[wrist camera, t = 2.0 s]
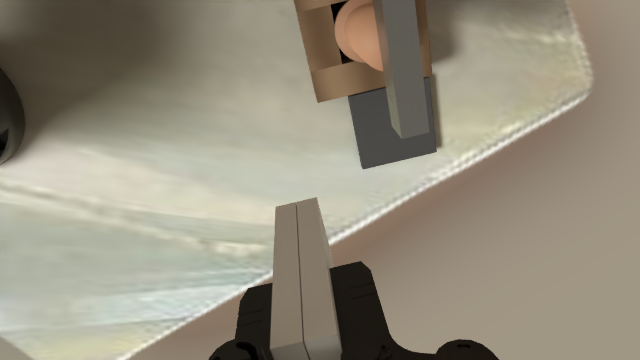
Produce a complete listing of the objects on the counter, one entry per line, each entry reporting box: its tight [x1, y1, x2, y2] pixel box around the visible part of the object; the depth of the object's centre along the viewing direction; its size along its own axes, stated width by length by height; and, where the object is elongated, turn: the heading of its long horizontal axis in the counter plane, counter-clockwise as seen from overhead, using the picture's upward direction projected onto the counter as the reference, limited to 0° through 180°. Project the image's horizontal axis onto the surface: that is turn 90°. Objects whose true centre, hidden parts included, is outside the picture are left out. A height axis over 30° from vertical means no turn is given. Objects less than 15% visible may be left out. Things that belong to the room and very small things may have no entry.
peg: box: [334, 0, 383, 71], centre depth 37 cm, size 6×6×14 cm
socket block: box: [294, 0, 432, 103], centre depth 35 cm, size 12×16×15 cm
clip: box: [373, 0, 429, 139], centre depth 27 cm, size 4×16×3 cm, turn 13°
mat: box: [348, 77, 437, 169], centre depth 48 cm, size 9×9×1 cm
